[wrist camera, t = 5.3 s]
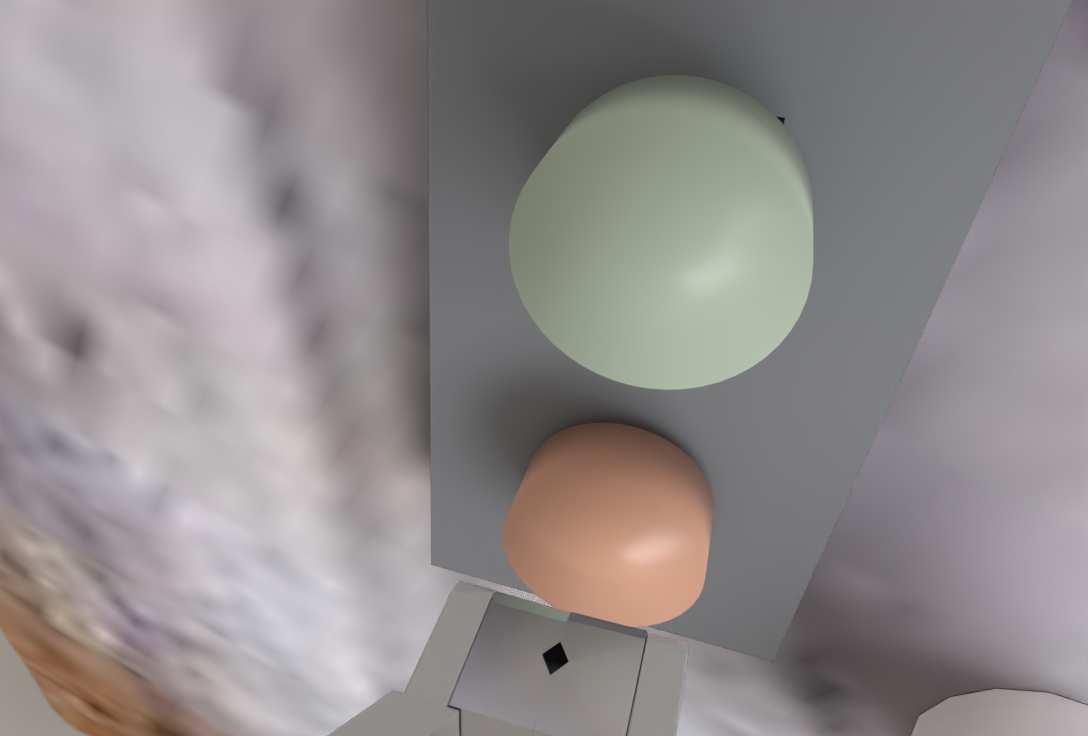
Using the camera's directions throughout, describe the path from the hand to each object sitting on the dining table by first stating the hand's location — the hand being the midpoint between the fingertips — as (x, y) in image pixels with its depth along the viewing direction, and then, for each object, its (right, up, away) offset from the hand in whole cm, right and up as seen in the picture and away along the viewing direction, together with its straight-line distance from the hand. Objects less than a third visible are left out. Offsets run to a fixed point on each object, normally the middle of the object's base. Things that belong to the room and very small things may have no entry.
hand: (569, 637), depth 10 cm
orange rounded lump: (+2, +2, +11) cm, 11 cm away
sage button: (+3, +8, +6) cm, 10 cm away
